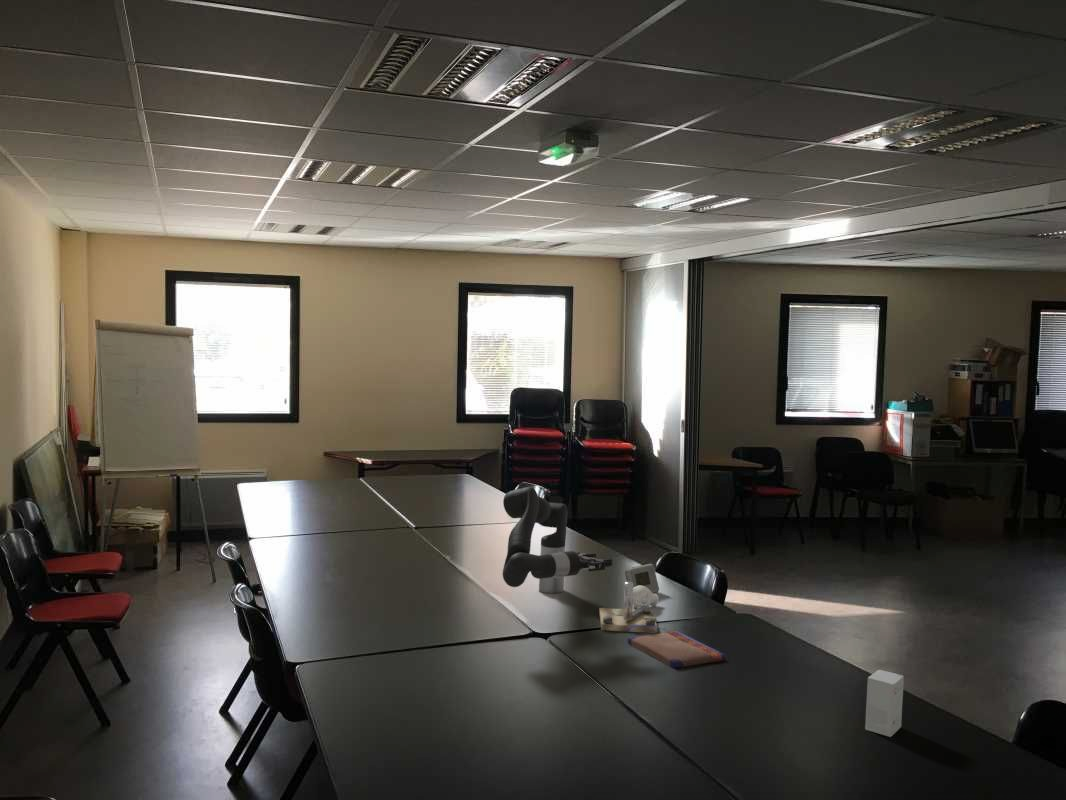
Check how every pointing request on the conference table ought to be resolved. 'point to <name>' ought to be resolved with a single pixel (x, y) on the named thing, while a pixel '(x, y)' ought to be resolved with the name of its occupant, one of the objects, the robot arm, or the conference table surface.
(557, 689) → the conference table surface
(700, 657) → the clutch
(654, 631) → the tribrach base
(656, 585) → the digital clock
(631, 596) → the footscrew lever
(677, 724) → the conference table surface
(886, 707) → the small box
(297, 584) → the conference table surface
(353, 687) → the conference table surface
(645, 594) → the white lumpy figure
